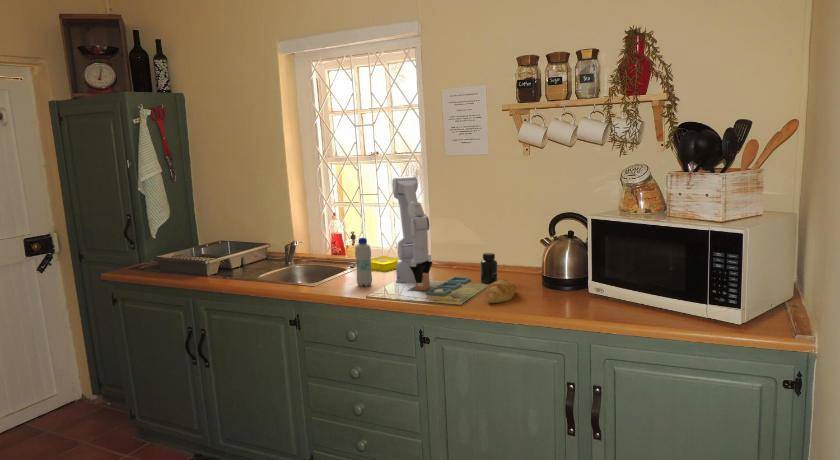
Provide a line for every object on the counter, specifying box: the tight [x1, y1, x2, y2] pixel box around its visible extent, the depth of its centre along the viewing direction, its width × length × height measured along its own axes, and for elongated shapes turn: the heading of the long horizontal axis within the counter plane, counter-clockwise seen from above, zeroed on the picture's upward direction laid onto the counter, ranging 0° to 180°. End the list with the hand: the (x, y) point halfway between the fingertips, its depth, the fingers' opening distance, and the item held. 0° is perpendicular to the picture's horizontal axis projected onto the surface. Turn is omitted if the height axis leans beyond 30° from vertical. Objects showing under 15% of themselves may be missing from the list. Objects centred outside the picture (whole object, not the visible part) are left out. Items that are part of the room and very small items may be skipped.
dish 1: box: [425, 288, 452, 297], centre depth 219 cm, size 7×7×1 cm
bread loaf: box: [486, 279, 516, 304], centre depth 209 cm, size 21×10×8 cm, turn 150°
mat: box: [407, 285, 437, 293], centre depth 226 cm, size 9×9×1 cm
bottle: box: [354, 237, 373, 288], centre depth 236 cm, size 7×7×20 cm
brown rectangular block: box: [415, 272, 431, 290], centre depth 226 cm, size 4×4×6 cm
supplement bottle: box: [480, 252, 498, 285], centre depth 233 cm, size 7×7×12 cm
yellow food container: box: [371, 255, 400, 273], centre depth 273 cm, size 15×15×5 cm
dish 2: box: [436, 281, 462, 291], centre depth 227 cm, size 7×7×1 cm
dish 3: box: [446, 276, 471, 285], centre depth 236 cm, size 7×7×1 cm
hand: (421, 281), depth 226 cm, fingers open, 5 cm apart
